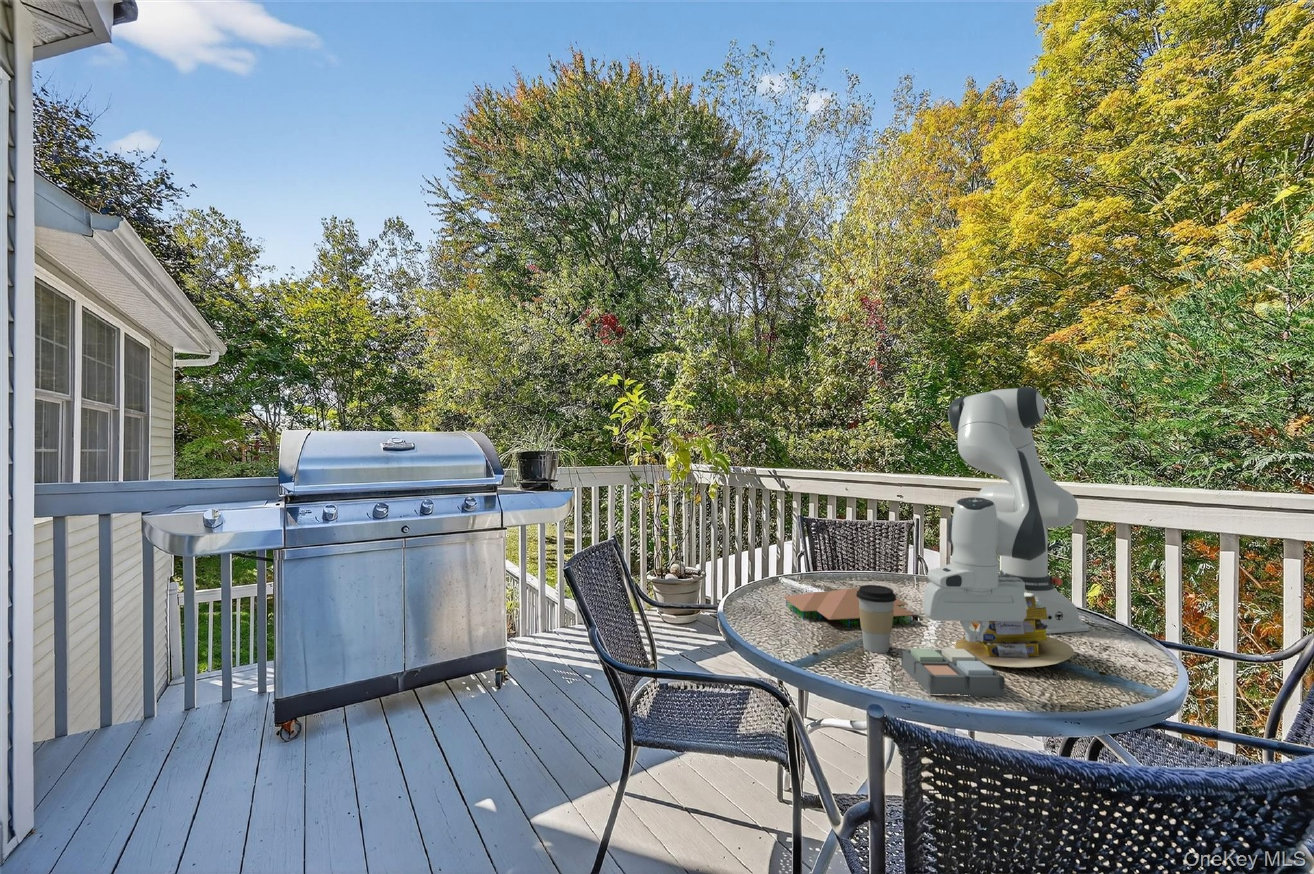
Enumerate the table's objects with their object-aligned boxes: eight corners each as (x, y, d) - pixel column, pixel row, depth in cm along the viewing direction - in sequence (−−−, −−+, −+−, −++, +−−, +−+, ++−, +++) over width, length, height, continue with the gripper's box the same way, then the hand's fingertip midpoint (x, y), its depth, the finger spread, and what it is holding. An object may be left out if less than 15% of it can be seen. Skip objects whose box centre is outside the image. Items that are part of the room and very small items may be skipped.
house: (924, 625, 164) (924, 596, 164) (813, 632, 159) (813, 602, 159) (881, 602, 187) (881, 577, 187) (782, 607, 182) (782, 581, 182)
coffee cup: (895, 644, 149) (895, 585, 149) (897, 658, 140) (897, 595, 140) (855, 640, 152) (856, 582, 152) (855, 653, 143) (856, 592, 143)
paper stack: (950, 663, 137) (951, 592, 137) (956, 631, 159) (957, 570, 158) (1079, 686, 125) (1080, 608, 125) (1067, 648, 146) (1067, 582, 146)
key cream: (963, 657, 133) (963, 648, 133) (975, 666, 128) (975, 657, 128) (941, 657, 133) (941, 648, 133) (952, 666, 128) (952, 657, 128)
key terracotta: (947, 674, 126) (947, 665, 126) (958, 684, 121) (958, 675, 121) (923, 674, 126) (923, 665, 126) (934, 684, 121) (934, 675, 121)
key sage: (932, 657, 133) (932, 648, 133) (942, 666, 128) (942, 657, 128) (910, 657, 133) (910, 648, 133) (919, 665, 128) (919, 656, 128)
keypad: (967, 667, 134) (967, 649, 134) (1004, 696, 119) (1004, 677, 119) (901, 666, 135) (901, 649, 135) (930, 696, 120) (930, 676, 120)
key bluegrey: (980, 670, 126) (980, 660, 126) (992, 679, 121) (992, 670, 121) (956, 669, 126) (956, 660, 126) (968, 679, 121) (968, 670, 121)
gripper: (1015, 572, 126) (1015, 636, 126) (920, 571, 127) (919, 635, 127) (1033, 579, 120) (1033, 646, 120) (933, 578, 120) (932, 645, 121)
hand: (974, 640), depth 123 cm, fingers closed
